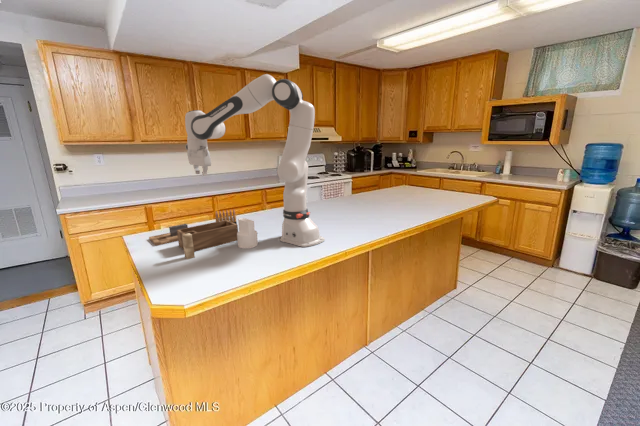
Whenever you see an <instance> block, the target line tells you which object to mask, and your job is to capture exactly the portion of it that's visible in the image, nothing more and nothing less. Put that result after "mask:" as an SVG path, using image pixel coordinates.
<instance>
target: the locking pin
mask: <svg viewBox="0 0 640 426" xmlns="http://www.w3.org/2000/svg"><path fill="white" fill-rule="evenodd" d="M182 240H183V247H184V250H183V252H184V258H185V259H186V260H190V259H194V258H195V257H196V256H195V252H194V247H193V240H192V234H190V233H187V234H183V235H182Z"/></svg>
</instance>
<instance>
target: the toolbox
mask: <svg viewBox="0 0 640 426" xmlns="http://www.w3.org/2000/svg"><path fill="white" fill-rule="evenodd" d="M222 220H223V219H222ZM238 232H239V224H238V223H237V224H235V223H233V222H230V220H229V221H228V220H223V221H218V222H216V221H214V222H209V223H204V224H199V225H193V226H188V228H184V229H179V230H177V236H178V241H177V242H178V247H179V248H181V250H183V251H184V247H183V240H182V235H183V234H187V233H190V234H192V240H193V247H194V253H195V252H199V251H203V250H206V249H210V248H214V247H218V246H222V245H225V244H230V243H234V242H238V241H237V233H238Z"/></svg>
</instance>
